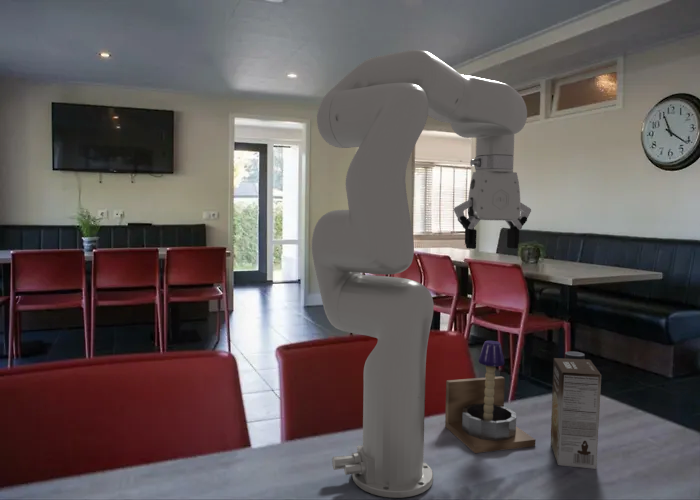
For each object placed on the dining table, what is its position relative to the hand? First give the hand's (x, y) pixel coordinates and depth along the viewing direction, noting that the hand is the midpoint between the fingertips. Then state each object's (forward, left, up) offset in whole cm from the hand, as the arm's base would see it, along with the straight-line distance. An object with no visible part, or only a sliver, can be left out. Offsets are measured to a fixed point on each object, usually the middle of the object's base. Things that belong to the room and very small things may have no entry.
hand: (491, 248), depth 114 cm
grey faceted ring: (-7, -13, -33) cm, 36 cm away
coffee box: (+3, -24, -34) cm, 42 cm away
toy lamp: (-7, -13, -33) cm, 36 cm away
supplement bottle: (+20, -2, -34) cm, 40 cm away
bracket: (-7, -13, -34) cm, 37 cm away
